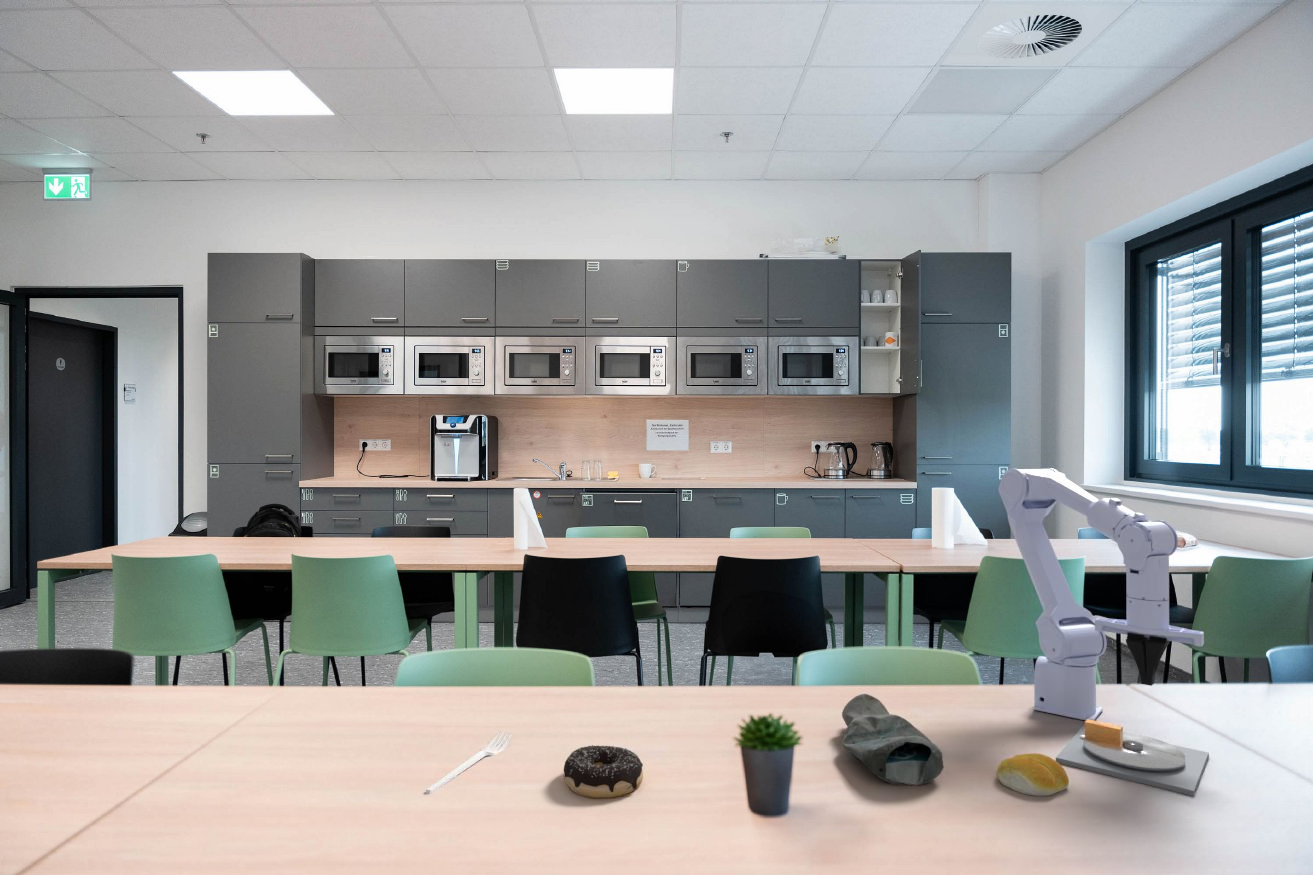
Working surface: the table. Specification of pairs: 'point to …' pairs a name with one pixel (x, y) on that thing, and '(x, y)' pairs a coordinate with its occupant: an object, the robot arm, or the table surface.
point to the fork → (473, 760)
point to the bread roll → (1033, 774)
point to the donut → (603, 771)
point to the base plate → (1173, 780)
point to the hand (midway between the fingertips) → (1147, 683)
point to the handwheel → (1130, 748)
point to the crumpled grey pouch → (889, 743)
